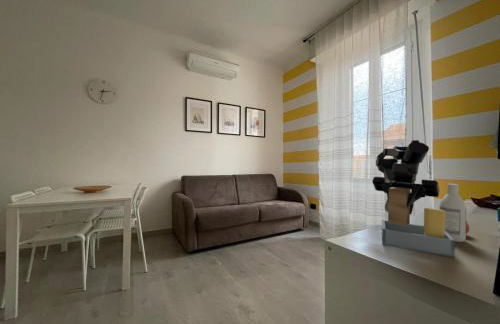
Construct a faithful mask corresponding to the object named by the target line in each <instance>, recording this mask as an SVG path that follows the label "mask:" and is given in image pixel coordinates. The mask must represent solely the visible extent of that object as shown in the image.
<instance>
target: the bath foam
mask: <svg viewBox="0 0 500 324" xmlns="http://www.w3.org/2000/svg"><path fill="white" fill-rule="evenodd" d="M459 187H460V185H459V184H458V183H447V187H446V189H447V190H446V194H445V195H444V197H442V199H441V200H440V202H439V207H438V208H439V209H440V210H444V211H445V231H446V232H447V233H448V234H449V235H450V236H451V237H452V238H453V239H454V240H455V243H457V242H458V243H465V242H466V240H467V239H466V235H467V233H466V221H467V206H466V203H465V201H464V200H463V198H462V197H461V196H460V194H459Z"/></svg>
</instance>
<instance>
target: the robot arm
mask: <svg viewBox="0 0 500 324" xmlns="http://www.w3.org/2000/svg"><path fill="white" fill-rule="evenodd" d="M429 149H430V147H429V146H428V145H427V144H425V143H423V142H420V141H419V139H418V140H416V139H413V140H412V139H411V142H410V143H409V144H408V145H396V146H393V147H384V148H383V150H382V152H380V153H379V154H378V155H377V157H376V159H375V166H376V167H377V169H378V171H379V172H381V173H382V175H383V176H374V177H373V179H372V184H373V187H374V189H375V191H377V192H384V194H386V198H387V199H386V202H385V204H384V210H385V211H386V212H387V213H388V201H389V188H391V187H398V188H409V189H410V196H409V198H408V201H407V207H409V206H410V215H412V213H413V208H414V205H415V204H414V203H416V202H417V201H418V200H420V199H421V198H425V197H430V198H431V197H433V198H438V197H439V195H440V186H439V182H438V180H435V179H434V180H433V179H421V183H415V182H416V181H417V175H418V173H419V166H420V164H421V163H423V161H424V159H425V158H426V156H427V154H428V152H429ZM399 161H400V163H398V162H399Z"/></svg>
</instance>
